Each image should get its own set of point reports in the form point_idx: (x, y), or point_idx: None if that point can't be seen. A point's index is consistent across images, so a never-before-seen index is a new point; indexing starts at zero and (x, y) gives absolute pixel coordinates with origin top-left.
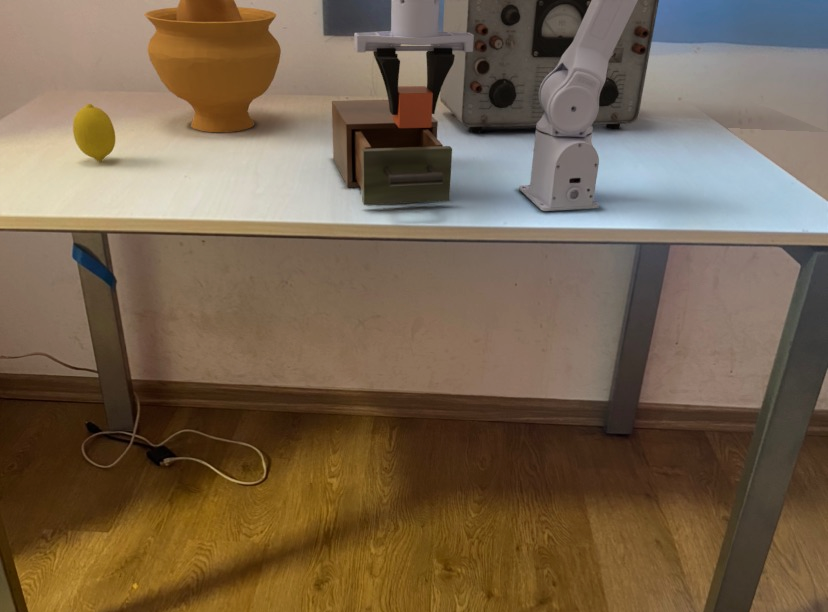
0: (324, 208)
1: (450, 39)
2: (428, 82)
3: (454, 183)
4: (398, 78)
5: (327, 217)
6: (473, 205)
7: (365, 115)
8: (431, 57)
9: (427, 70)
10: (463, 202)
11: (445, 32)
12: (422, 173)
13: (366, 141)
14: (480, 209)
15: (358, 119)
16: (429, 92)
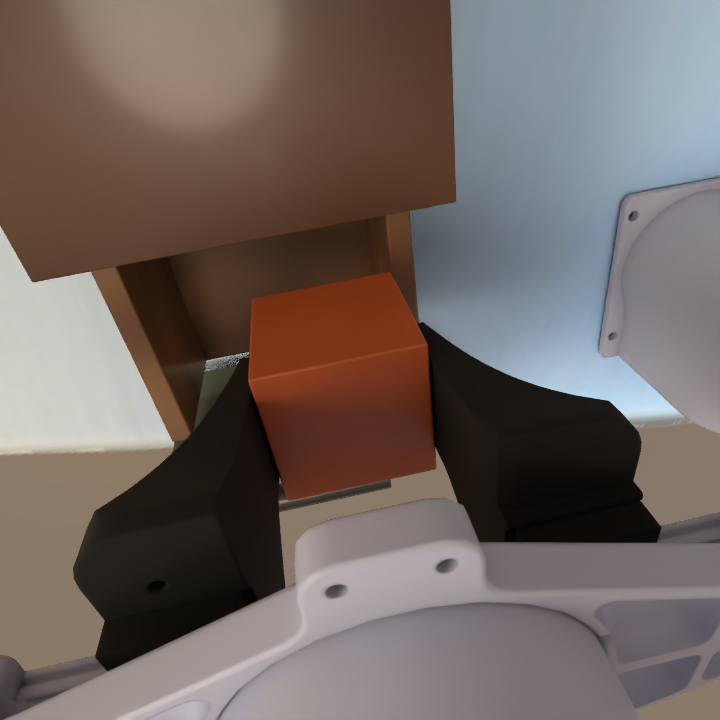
0: (91, 368)
1: (644, 679)
2: (444, 400)
3: (458, 134)
4: (281, 552)
5: (117, 418)
6: (463, 320)
7: (78, 81)
8: (493, 541)
9: (461, 410)
10: (445, 302)
11: (714, 596)
12: (342, 496)
13: (164, 387)
14: (472, 344)
15: (64, 183)
16: (424, 464)
